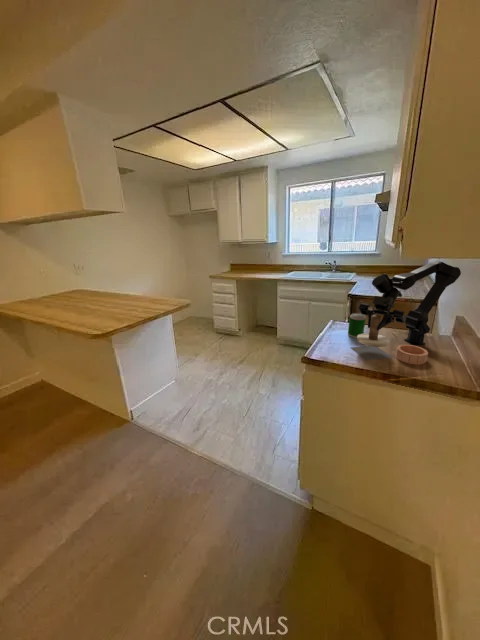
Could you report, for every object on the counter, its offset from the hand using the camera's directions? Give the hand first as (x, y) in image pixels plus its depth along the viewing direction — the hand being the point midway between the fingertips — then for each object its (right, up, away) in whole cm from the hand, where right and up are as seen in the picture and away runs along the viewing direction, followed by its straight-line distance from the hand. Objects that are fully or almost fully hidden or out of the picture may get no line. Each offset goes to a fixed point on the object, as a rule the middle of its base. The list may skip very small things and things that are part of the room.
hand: (372, 328), depth 115 cm
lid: (+1, -5, +3) cm, 6 cm away
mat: (+1, -11, +5) cm, 12 cm away
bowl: (+15, -13, -1) cm, 20 cm away
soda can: (+3, -5, +24) cm, 25 cm away
